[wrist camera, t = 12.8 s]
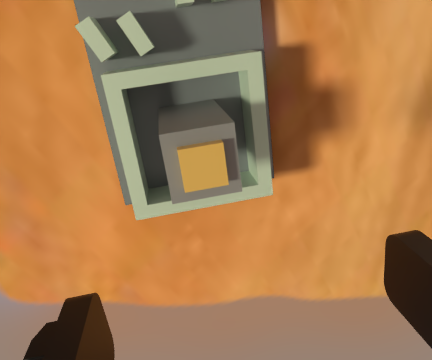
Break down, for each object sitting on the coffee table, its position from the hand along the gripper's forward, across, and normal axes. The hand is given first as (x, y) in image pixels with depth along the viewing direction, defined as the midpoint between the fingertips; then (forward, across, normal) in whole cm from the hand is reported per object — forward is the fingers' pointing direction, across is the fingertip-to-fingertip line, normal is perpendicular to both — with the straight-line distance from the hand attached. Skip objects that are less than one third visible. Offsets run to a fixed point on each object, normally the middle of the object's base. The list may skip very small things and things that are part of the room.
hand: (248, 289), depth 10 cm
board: (+20, 0, -5) cm, 20 cm away
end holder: (+18, 0, 0) cm, 18 cm away
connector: (+18, 0, 0) cm, 19 cm away
